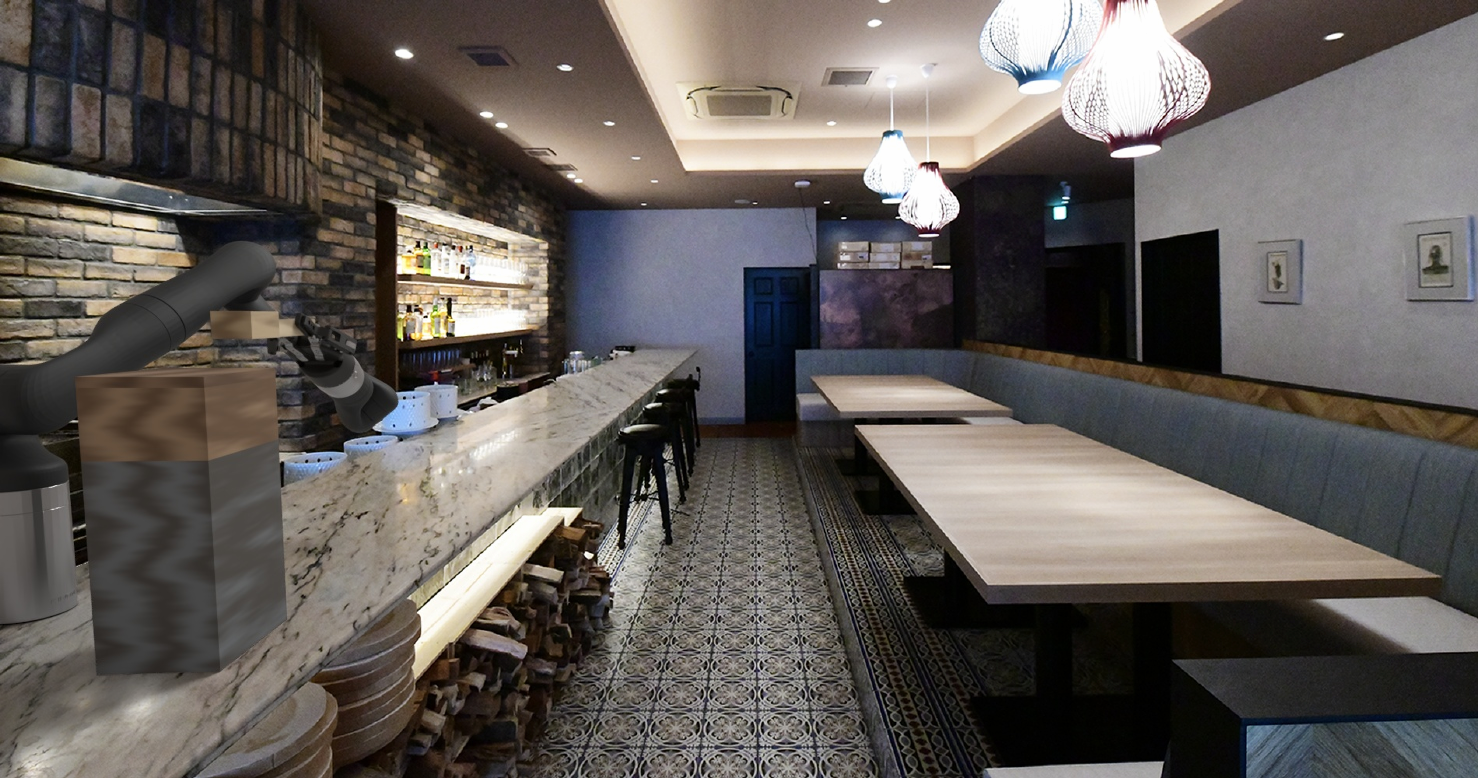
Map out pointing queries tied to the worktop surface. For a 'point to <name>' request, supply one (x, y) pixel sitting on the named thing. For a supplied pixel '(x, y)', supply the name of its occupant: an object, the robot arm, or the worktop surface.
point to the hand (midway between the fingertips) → (285, 317)
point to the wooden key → (251, 325)
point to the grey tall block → (181, 516)
